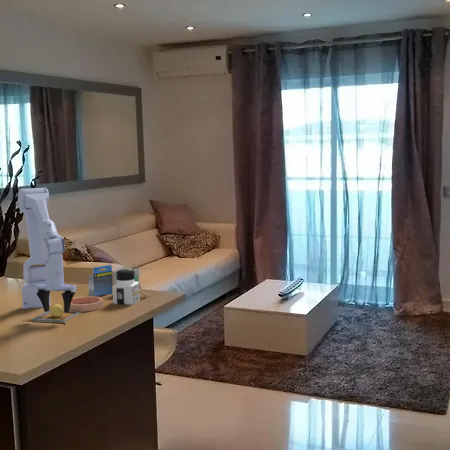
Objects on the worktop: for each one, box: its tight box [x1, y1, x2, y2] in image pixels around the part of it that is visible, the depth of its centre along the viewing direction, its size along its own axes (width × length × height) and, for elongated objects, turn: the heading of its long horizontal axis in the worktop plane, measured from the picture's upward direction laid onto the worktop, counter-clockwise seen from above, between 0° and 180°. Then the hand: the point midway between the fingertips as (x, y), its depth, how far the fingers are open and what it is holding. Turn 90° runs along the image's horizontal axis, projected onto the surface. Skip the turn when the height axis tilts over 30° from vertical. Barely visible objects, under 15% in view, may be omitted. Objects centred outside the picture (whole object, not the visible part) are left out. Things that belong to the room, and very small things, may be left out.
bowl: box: [69, 295, 104, 313], centre depth 221 cm, size 13×13×3 cm
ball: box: [49, 303, 64, 318], centre depth 210 cm, size 4×4×4 cm
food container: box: [114, 266, 142, 284], centre depth 243 cm, size 12×6×10 cm, turn 148°
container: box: [112, 268, 141, 305], centre depth 228 cm, size 8×8×13 cm
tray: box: [31, 309, 82, 325], centre depth 210 cm, size 12×12×1 cm
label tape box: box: [88, 264, 113, 297], centre depth 241 cm, size 9×4×12 cm, turn 136°
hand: (56, 311), depth 210 cm, fingers open, 7 cm apart
